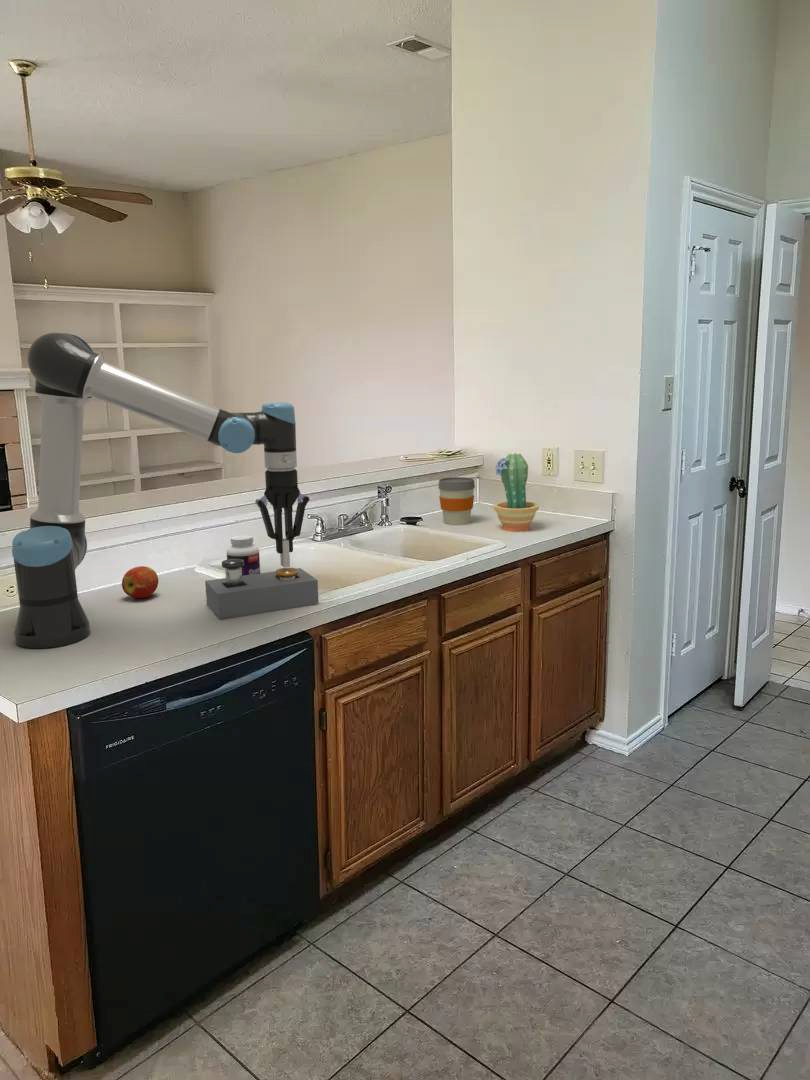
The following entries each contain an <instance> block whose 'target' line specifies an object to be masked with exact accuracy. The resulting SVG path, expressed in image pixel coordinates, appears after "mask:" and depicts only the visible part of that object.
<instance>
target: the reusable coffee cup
mask: <svg viewBox="0 0 810 1080" xmlns="http://www.w3.org/2000/svg"><path fill="white" fill-rule="evenodd" d="M475 488H476V485H475V479H474V478H472V477H461V476H460V477H459V476H455V477H453V476H452V477H443V478H439V480H438V489H439V496H438V497H439V503H440V504H439V505H440V509H441V510H442V518H443V523H444V525H450V526H464V525H469V524H470V523H471V515H472V509H473V508H474V501H475V500H474V499H475V495H474V490H475Z"/></svg>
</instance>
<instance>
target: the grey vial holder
mask: <svg viewBox="0 0 810 1080" xmlns="http://www.w3.org/2000/svg"><path fill="white" fill-rule="evenodd" d="M295 568H296V567H295ZM296 569H298V574H297V575H296V576H295V579H288V580H281V581H280V580H279V576H277V575H276V570H274V571H268V572H267V571H266V572H260V573H259V574H251V575H244V576H242V583H243V586H237V587H230V588H226V577H223V578H215V579H207V580H205V581H204V583H205V584H204V585H205V596H206V605H207V606H208V607H209V609H210V610H211V611H212V613H214V615H215V616H216V617H217V619H219V620H223V619H229V618H231V619H232V618H238V617H243V616H248V615H249V616H250V615H256V614H261V613H262V614H263V613H268V612H270V613H271V612H276V611H282V610H289V609H295V608H301V607H302V608H303V607H309V606H314V604H315V605H317V604H316V603H320V602H319V585H318V584H319V582H318V581H319V580H318V579H317V578H316V577H314V576H313V575H311V574H310V573H308V572H307V571H305V570H304V569H302V568H301V567H297V568H296Z"/></svg>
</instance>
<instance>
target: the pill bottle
mask: <svg viewBox="0 0 810 1080" xmlns="http://www.w3.org/2000/svg"><path fill="white" fill-rule="evenodd" d="M230 543H231V545H230V546H229V547H228V548H227V549H226V560H228V559H242V560H244V566H242V567H241V568H242V576H244V575H251V574H259V573H261V563H260V550H259V546H257V545H255V544H253V543H254V536H253V535H250V534H241V535H234V536H231V537H230Z"/></svg>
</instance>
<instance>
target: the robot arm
mask: <svg viewBox="0 0 810 1080" xmlns="http://www.w3.org/2000/svg"><path fill="white" fill-rule="evenodd" d="M93 350H94V349H93V348H92V347H91V345H89V343H88V342H87V341H86V340H85V339H83V338H81V337H80V336H78V335H76V334H71V333H68V332H66V333H64V332H48V333H46V334H43V335H40V336H39V337H38V338H36V339H35V340H34V341H33V342H32V343H31V345H30V347H29V349H28V353H27V364H28V369H29V370H30V373H31V374H32V376H33V377H34V378H35V387H34V388H35V389H34V390H35V391H34V393H35V395H36V397H38V398H39V399H40V400H41V426H40V427H41V428H40V450H39V451H40V452H39V453H40V454H39V473H38V476H39V478H38V502H37V508H36V510H34V512H32V513H31V514H30V515H29V516H30V518H29V528H28V529H27V530H23V531H20V532H18V533H17V534H16V535H15V536H14V537H13V538H12V543H11V545H12V548H11V553H12V558H13V564H14V570H15V578H16V579H15V580H16V586H17V593H18V602H19V608H18V609H19V610H18V614H17V618H16V624H15V626H14V627H15V628H14V633H13V634H14V640H15V641H14V643H15V644H16V645H17V646H19V647H22V648H28V649H47V648H48V649H49V648H56V647H60V646H61V647H63V646H67V645H70V644H73V643H77V642H80V641H82V640H83V639H86V638H87V637H88V636H89V635H90V634H91V625H90V621H89V619H88V617H87V615H86V612H85V611H84V608H83V606H82V604H81V603H80V600H79V596H78V594H79V593H78V587H77V579H76V578H77V577H76V569H77V568H78V566H80V564H81V563H82V562H83V560H84V559H85V557H86V554H87V551H88V540H87V536H86V533H85V532H86V517H85V515H83V514H82V513H81V512H80V497H81V496H80V495H81V493H80V492H81V473H82V454H83V452H82V451H83V450H82V449H83V434H84V433H83V432H84V430H83V429H84V416H85V415H84V413H85V410H84V408H85V406H86V404H87V403H89V402H90V401H91V400H92V399H93V398H92V397H94V398H96V399H98V400H102V401H104V402H106V403H108V404H111V405H114V406H116V407H119V408H122V409H123V410H127V411H130V412H131V413H134V414H138V415H139V416H142V417H145V418H147V419H150V420H153V421H155V422H157V423H160V424H163V425H165V426H168V427H171V428H173V429H176V430H178V431H181V432H184V433H186V434H188V435H191V436H195V437H196V438H198V439H202V440H204V441H207V442H209V443H211V444H212V445H213V446H214V447H215V446H216V447H221V448H223V449H224V450H225V451H227V452H229V453H232V454H242V453H245V452H246V451H247V450H249V449H250V448H251V447H252V445H253V446H254V445H257V446H258V445H259V446H260V445H263V454H264V468H265V469H266V470H265V472H264V474H265V478H264V479H265V490H264V492H263V494H264V495H263V496H262V497H260V498H259V499H258V498H257V499H256V500H255V501H254V503H255V504H256V506H257V507H258V508H259V511H260V514H261V517H262V520H263V524H264V527H265V530H266V534H267V536H268V538H270V539H272V540H275V551H276V553H278V554H279V555H280V557H279V559H280V566H282V568H291V561H290V560H291V559H290V555H291V554H290V553H293V552H294V542H293V541H294V539H295V538H296V537H299V536H301V532H302V531H301V530H302V526H303V521H304V515H305V511H306V506H307V505H308V502H309V501H310V497H309V496H307V495H304V494H303V493H301V491H300V489H299V486H298V483H299V481H298V470H297V469H296V468H297V467H298V462H297V460H298V459H297V431H296V430H297V429H296V416H295V407H294V405H293V404H292V403H289V402H265V403H263V404H262V405H261V410H260V411H256V412H230V411H226V410H224V409H221V408H219V407H216V406H214V405H211V404H209V403H206V402H204V401H201V400H199V399H197V398H195V397H192V396H190V395H187V394H184V393H183V392H180V391H177V390H175V389H172V388H170V387H167V386H165V385H162V384H160V383H157V382H155V381H154V380H153V381H152V380H150V379H147V378H145V377H143V376H140V375H138V374H135V373H132V372H130V371H127V370H125V369H123V368H120V367H118V366H115V365H114V364H113V365H112V364H110V363H108V362H106V361H105V360H104V359H103V356H102V355H101V354H99V353H96V352H94V351H93ZM296 501H297V504H296V505H297V506H296V511H295V515H294V516H295V517H294V522H293V511H294V508H293V506H294V504H295V502H296ZM268 502H269V504H270V505H271V506H272V508H273V509H272V511H273V520H274V521H273V523H274V525H273V524H272V520H271V516H270V513H269V510H268V507H267V505H268ZM282 513H283V514H284V531H283V514H282ZM283 532H284V535H283ZM283 536H285V537H283Z"/></svg>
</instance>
